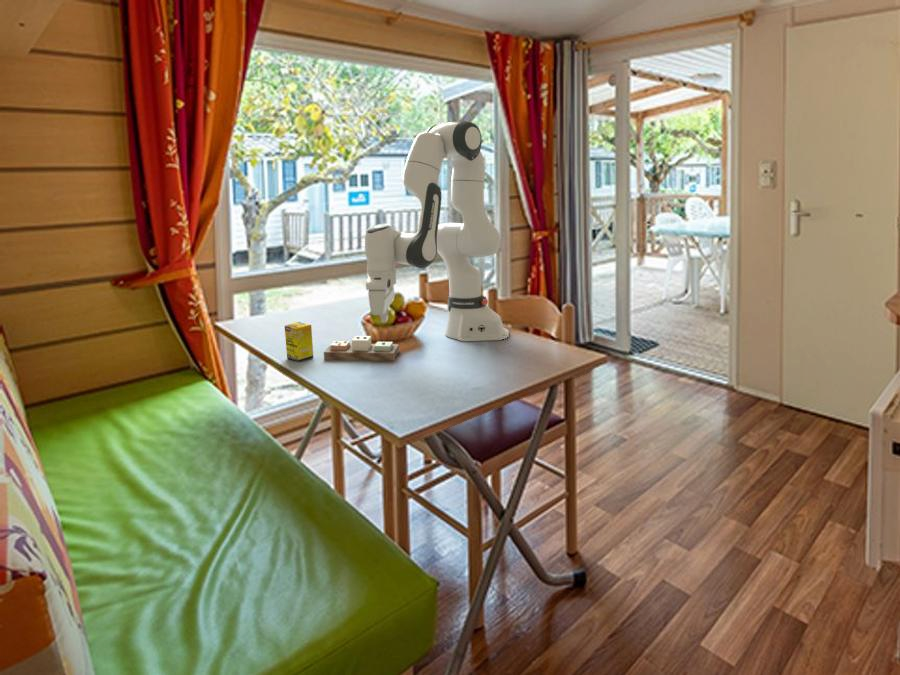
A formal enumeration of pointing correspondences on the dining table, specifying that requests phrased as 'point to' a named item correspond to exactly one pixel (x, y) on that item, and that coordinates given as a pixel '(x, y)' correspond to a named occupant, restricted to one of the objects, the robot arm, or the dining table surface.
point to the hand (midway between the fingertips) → (384, 321)
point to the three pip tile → (340, 345)
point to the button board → (362, 354)
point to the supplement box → (299, 341)
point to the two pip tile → (361, 343)
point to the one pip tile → (383, 346)
